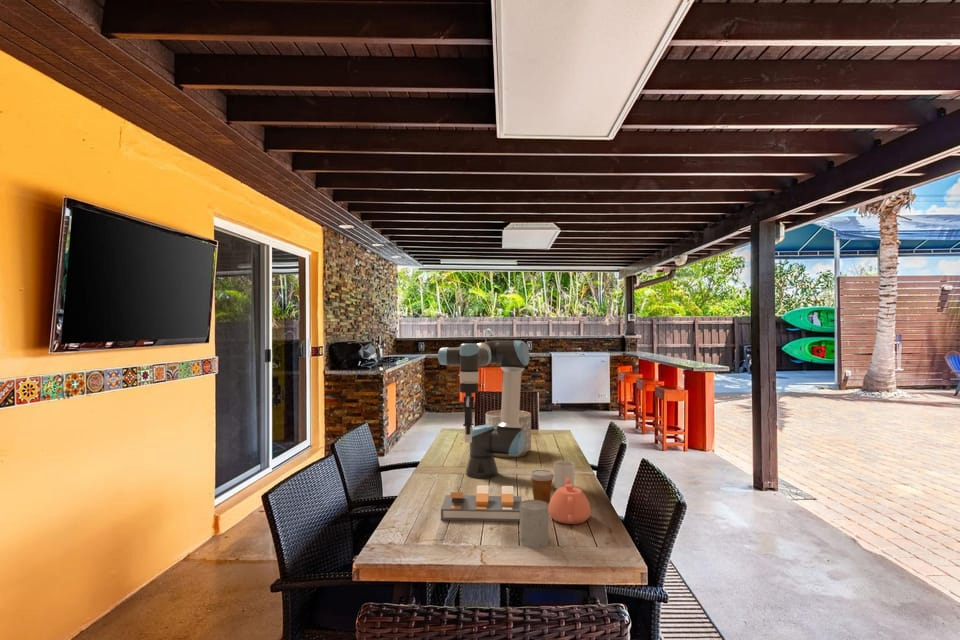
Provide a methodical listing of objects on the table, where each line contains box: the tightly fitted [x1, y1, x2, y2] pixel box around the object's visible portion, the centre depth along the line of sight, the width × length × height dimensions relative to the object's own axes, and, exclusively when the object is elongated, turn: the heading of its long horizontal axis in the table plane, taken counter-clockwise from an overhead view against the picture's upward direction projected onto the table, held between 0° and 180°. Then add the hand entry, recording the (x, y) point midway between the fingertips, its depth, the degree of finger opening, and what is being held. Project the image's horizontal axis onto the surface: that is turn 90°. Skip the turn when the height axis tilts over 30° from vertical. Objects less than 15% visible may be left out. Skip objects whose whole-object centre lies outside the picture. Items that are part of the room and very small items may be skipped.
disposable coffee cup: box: [529, 469, 554, 505], centre depth 212 cm, size 10×10×12 cm
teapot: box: [548, 477, 592, 525], centre depth 195 cm, size 22×16×12 cm
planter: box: [485, 409, 532, 458], centre depth 294 cm, size 26×26×22 cm
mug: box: [553, 460, 576, 490], centre depth 231 cm, size 12×9×11 cm
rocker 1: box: [450, 491, 465, 498], centre depth 200 cm, size 10×4×2 cm, turn 177°
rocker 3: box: [500, 485, 514, 507], centre depth 199 cm, size 10×4×2 cm, turn 177°
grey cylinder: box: [519, 499, 550, 549], centre depth 174 cm, size 10×10×12 cm
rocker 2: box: [475, 484, 490, 506], centre depth 200 cm, size 10×4×2 cm, turn 177°
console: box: [440, 494, 523, 523], centre depth 200 cm, size 16×30×5 cm, turn 87°
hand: (468, 442), depth 207 cm, fingers closed
